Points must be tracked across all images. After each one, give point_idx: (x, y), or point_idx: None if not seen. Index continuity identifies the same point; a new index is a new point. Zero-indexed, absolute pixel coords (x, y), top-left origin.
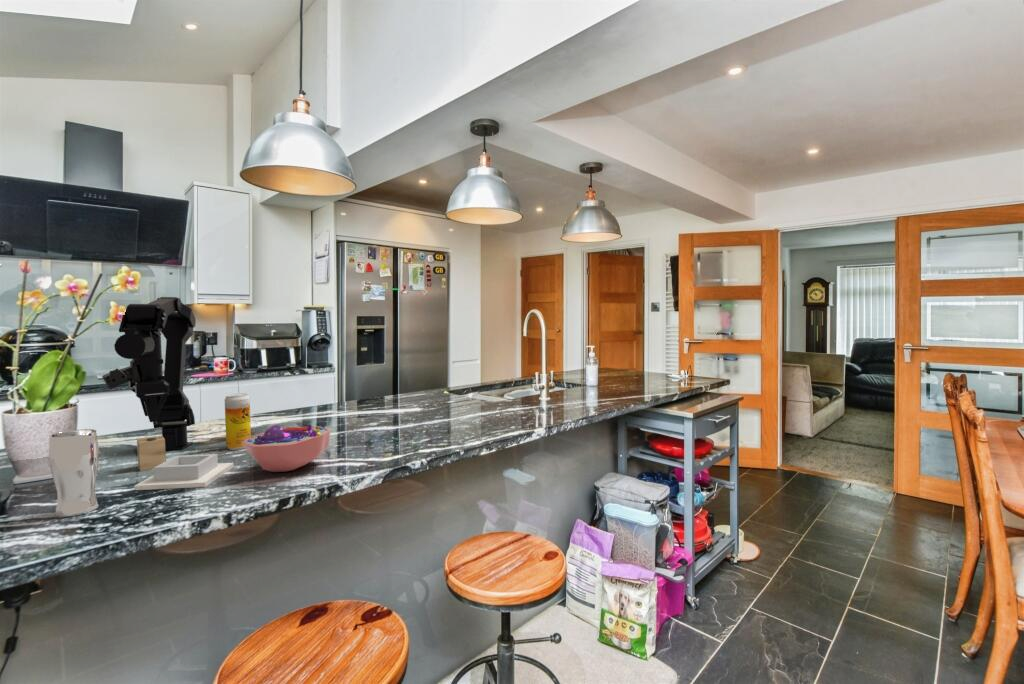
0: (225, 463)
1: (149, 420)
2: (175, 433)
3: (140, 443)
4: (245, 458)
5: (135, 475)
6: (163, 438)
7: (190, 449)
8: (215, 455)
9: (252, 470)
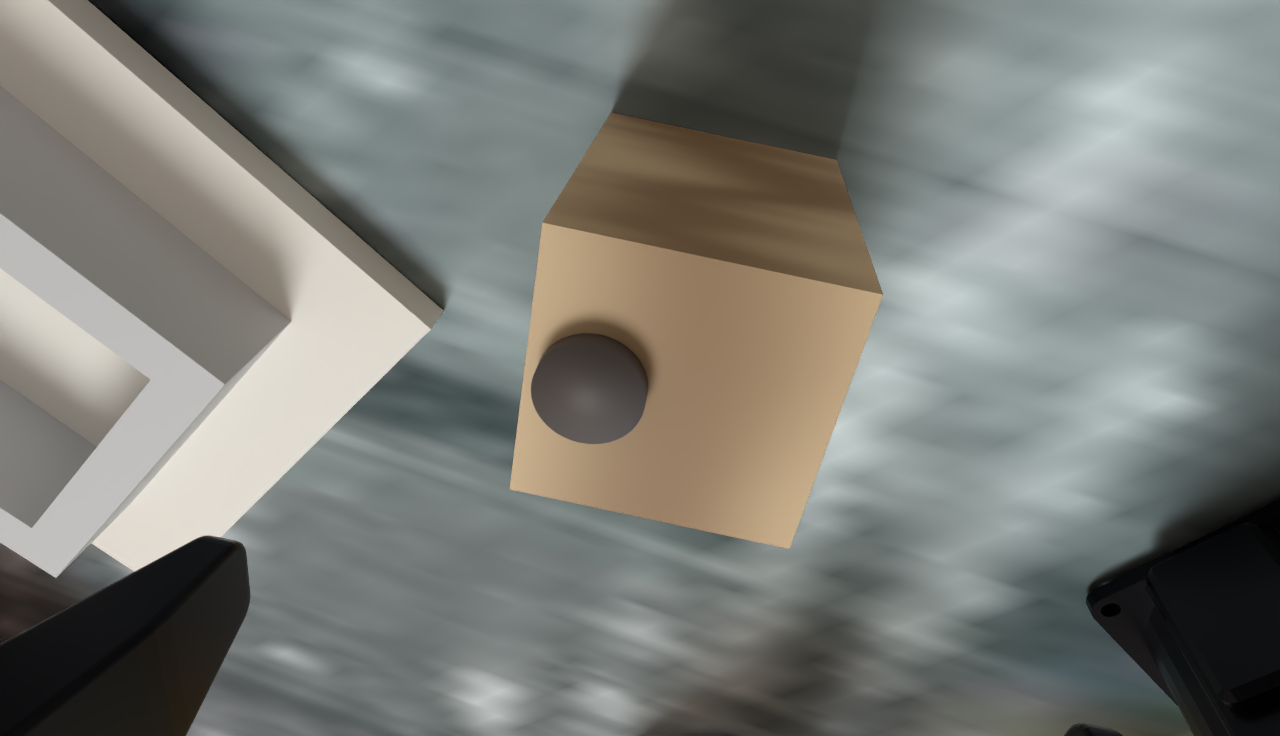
0: None
1: (183, 551)
2: (1222, 720)
3: (545, 234)
4: (356, 683)
5: (491, 29)
6: (558, 492)
7: (1019, 631)
8: (27, 555)
9: (16, 584)
